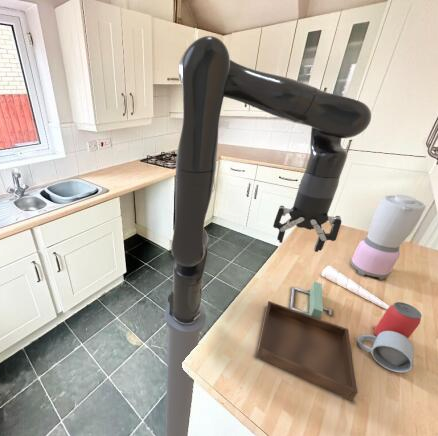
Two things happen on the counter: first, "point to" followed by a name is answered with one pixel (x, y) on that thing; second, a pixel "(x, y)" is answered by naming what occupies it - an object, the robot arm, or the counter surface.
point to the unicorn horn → (351, 286)
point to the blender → (387, 235)
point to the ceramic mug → (390, 350)
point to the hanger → (313, 301)
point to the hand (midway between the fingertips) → (297, 245)
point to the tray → (308, 349)
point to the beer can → (399, 319)
